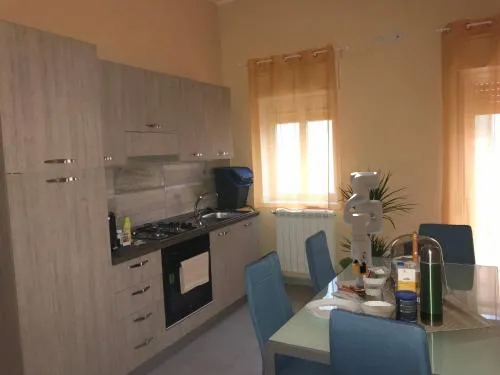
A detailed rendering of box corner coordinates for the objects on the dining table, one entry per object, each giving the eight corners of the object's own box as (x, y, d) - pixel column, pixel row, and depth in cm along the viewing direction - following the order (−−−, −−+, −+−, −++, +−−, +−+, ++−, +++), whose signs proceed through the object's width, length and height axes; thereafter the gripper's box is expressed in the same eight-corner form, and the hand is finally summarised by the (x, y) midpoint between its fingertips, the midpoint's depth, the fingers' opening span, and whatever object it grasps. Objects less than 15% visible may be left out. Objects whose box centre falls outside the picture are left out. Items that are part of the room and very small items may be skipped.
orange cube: (352, 273, 212) (351, 263, 212) (362, 271, 214) (362, 262, 213) (358, 276, 206) (357, 266, 206) (368, 274, 208) (368, 265, 207)
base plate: (349, 287, 213) (349, 284, 213) (362, 285, 215) (362, 283, 215) (357, 292, 205) (357, 289, 205) (371, 290, 207) (371, 287, 207)
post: (356, 285, 211) (355, 276, 211) (361, 285, 212) (360, 275, 212) (358, 287, 208) (358, 278, 208) (364, 286, 209) (363, 277, 209)
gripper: (344, 235, 216) (345, 268, 217) (361, 241, 199) (361, 276, 200) (357, 234, 218) (357, 266, 219) (374, 239, 201) (375, 275, 202)
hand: (359, 271), depth 210 cm, fingers closed on orange cube, 6 cm apart
